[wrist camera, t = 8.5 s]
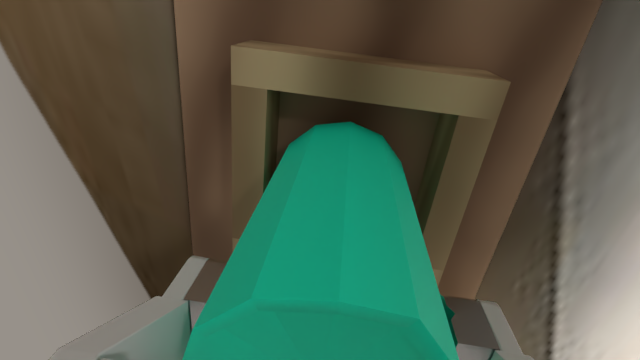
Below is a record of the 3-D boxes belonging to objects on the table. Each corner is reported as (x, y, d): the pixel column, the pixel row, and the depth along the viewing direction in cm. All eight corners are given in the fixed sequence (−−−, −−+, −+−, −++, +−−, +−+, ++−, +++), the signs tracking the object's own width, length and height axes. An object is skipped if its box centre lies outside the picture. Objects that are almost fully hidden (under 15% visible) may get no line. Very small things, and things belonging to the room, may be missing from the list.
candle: (348, 253, 18) (334, 599, 7) (254, 187, 17) (77, 488, 6) (431, 175, 16) (589, 521, 5) (329, 92, 15) (250, 315, 4)
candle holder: (589, -10, 15) (663, -16, 11) (463, 297, 23) (483, 350, 19) (182, -58, 15) (128, -78, 12) (201, 255, 24) (173, 299, 20)
